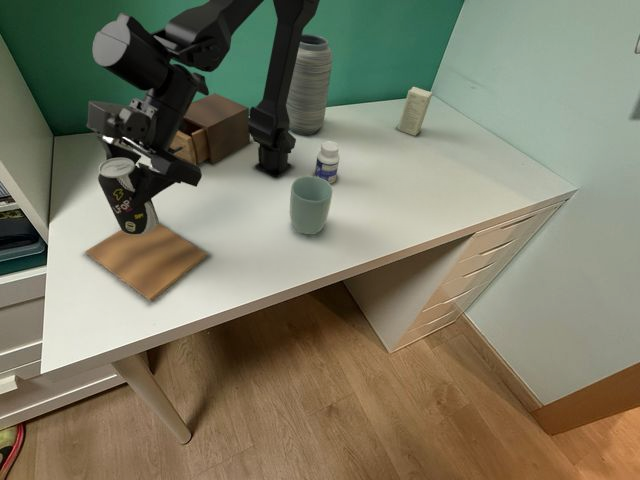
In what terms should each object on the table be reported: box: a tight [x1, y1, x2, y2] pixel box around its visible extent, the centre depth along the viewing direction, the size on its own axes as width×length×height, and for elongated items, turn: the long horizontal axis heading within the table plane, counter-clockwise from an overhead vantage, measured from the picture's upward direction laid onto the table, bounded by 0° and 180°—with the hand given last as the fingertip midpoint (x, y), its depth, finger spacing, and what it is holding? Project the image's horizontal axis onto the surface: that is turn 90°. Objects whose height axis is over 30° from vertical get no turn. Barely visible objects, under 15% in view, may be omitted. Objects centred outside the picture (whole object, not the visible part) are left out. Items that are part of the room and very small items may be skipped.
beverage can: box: [97, 158, 159, 235], centre depth 51 cm, size 6×6×12 cm
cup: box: [289, 175, 333, 235], centre depth 64 cm, size 8×8×10 cm
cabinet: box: [184, 92, 251, 165], centre depth 81 cm, size 14×11×10 cm
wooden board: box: [85, 222, 208, 302], centre depth 58 cm, size 16×12×1 cm
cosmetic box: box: [397, 86, 433, 137], centre depth 98 cm, size 6×4×12 cm
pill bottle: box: [314, 140, 340, 184], centre depth 77 cm, size 5×5×9 cm
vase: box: [286, 33, 334, 135], centre depth 88 cm, size 12×12×23 cm
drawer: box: [151, 119, 209, 167], centre depth 76 cm, size 17×10×8 cm, turn 148°
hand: (120, 199), depth 49 cm, fingers closed on beverage can, 5 cm apart
